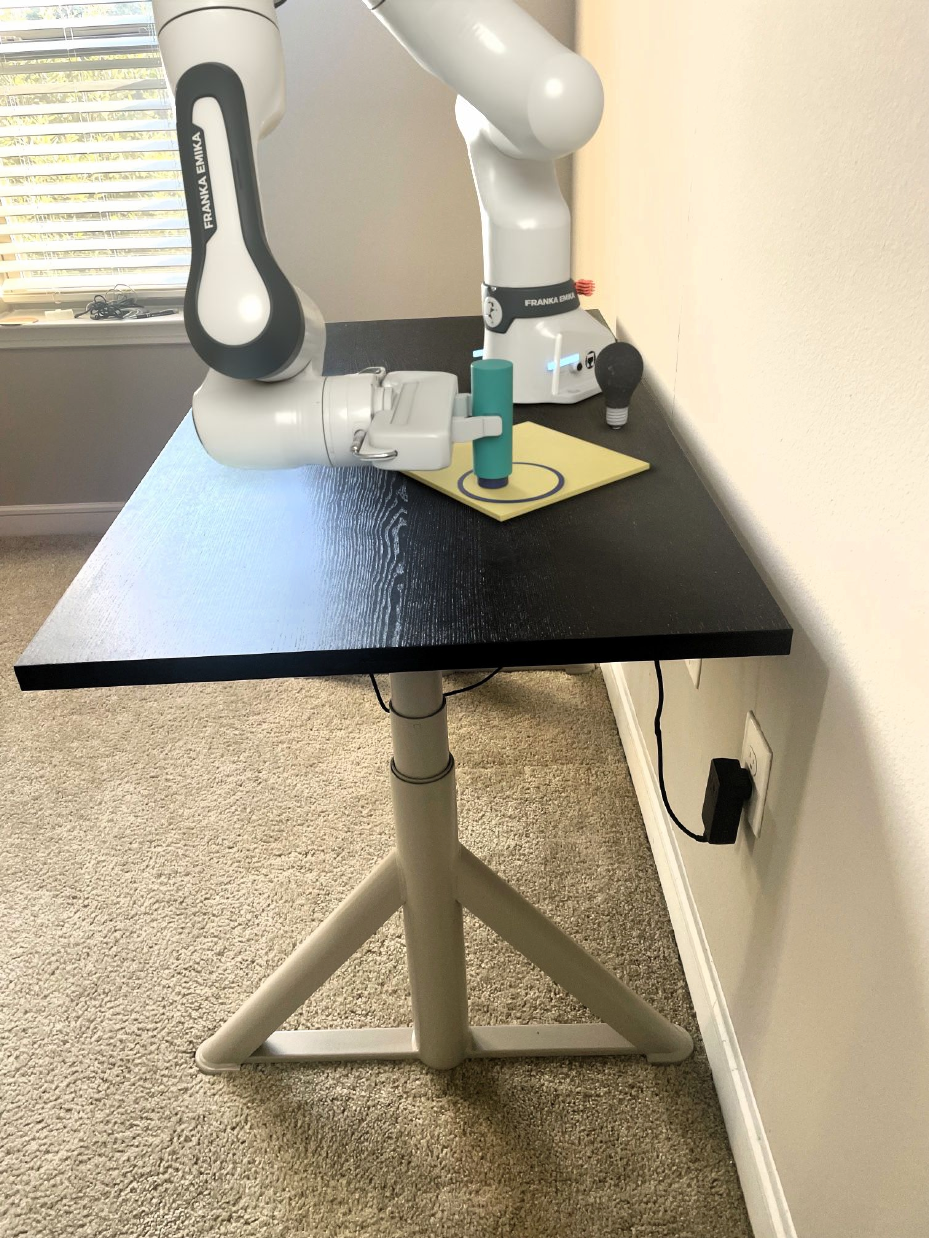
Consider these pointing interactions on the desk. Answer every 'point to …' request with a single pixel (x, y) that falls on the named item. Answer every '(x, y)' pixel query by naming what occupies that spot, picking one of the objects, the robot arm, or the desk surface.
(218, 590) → the desk surface
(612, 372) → the light bulb
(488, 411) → the cylinder
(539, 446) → the writing pad
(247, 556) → the desk surface
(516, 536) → the desk surface
